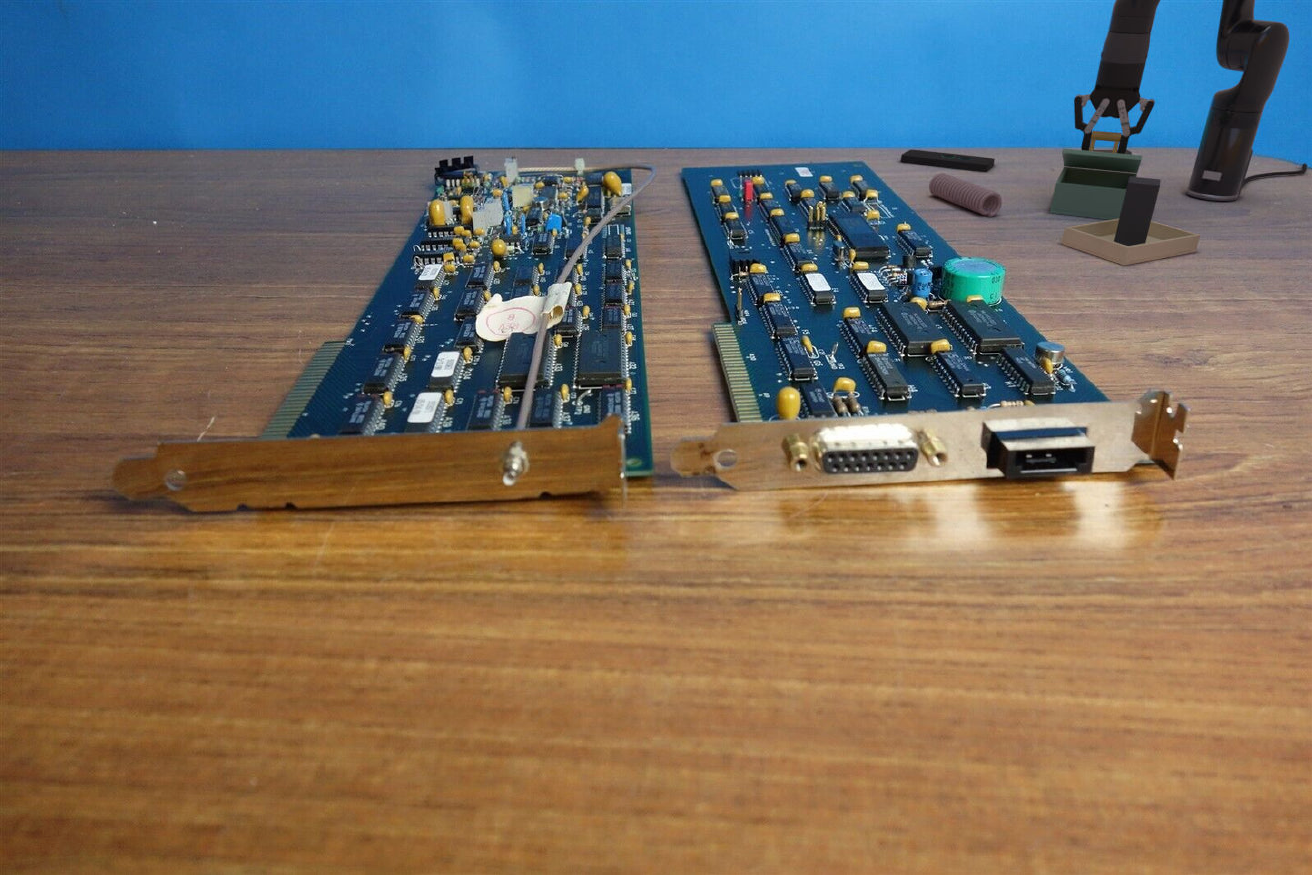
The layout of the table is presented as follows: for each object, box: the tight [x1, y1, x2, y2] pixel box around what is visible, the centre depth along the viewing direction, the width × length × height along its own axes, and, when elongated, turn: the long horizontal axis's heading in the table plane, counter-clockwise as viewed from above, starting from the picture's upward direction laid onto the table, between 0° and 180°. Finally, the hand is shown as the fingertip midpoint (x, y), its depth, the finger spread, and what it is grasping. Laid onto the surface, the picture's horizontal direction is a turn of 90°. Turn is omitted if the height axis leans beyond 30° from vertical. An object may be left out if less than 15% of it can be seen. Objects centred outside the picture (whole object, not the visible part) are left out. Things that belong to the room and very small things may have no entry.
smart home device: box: [900, 149, 996, 173], centre depth 218 cm, size 8×2×20 cm
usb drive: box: [1093, 149, 1139, 155], centre depth 220 cm, size 5×12×3 cm, turn 88°
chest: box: [1049, 166, 1138, 221], centre depth 183 cm, size 16×14×6 cm
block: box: [1114, 176, 1161, 246], centre depth 158 cm, size 5×5×11 cm
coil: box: [928, 172, 1003, 218], centre depth 184 cm, size 5×5×18 cm
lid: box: [1061, 130, 1143, 174], centre depth 180 cm, size 16×14×5 cm
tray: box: [1061, 219, 1201, 266], centre depth 160 cm, size 17×13×3 cm
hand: (1102, 154), depth 176 cm, fingers closed on lid, 5 cm apart
